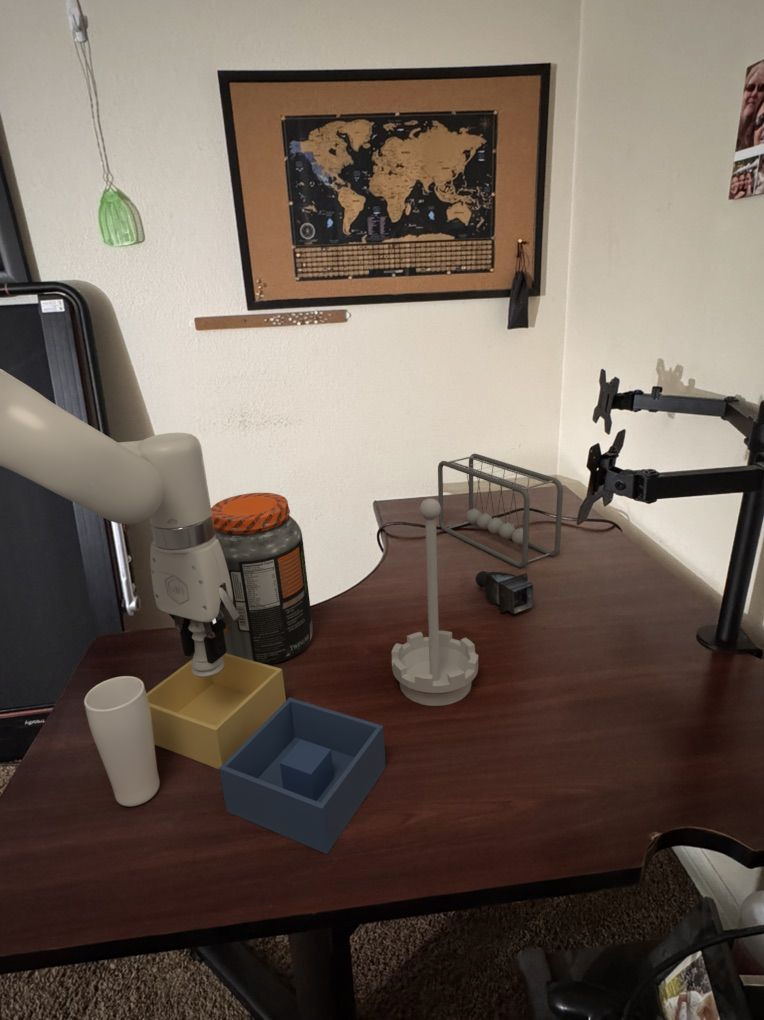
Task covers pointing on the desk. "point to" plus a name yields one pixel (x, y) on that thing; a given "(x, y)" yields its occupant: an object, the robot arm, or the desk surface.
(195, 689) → the yellow bin
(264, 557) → the supplement tub
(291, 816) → the slate bin
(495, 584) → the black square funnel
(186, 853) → the desk surface
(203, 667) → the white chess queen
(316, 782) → the blue block
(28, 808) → the desk surface
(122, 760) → the drinking glass
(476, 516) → the newton's cradle
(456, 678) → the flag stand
